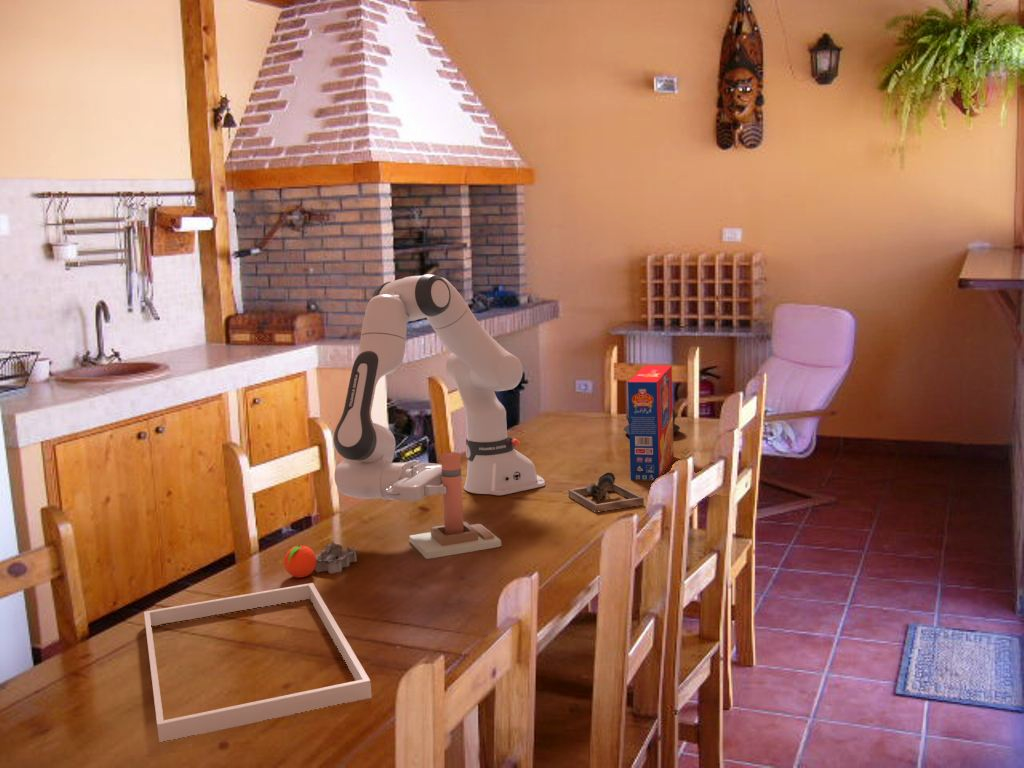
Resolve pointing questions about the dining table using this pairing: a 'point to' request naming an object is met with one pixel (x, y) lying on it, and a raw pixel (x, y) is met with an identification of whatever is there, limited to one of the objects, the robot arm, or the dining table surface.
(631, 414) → the blue cardboard box
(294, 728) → the dining table surface
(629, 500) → the figurine display rim
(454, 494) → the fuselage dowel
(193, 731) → the frame
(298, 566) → the clementine
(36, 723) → the dining table surface
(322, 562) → the grey castle model
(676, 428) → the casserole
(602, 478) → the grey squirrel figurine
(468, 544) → the cradle jig
